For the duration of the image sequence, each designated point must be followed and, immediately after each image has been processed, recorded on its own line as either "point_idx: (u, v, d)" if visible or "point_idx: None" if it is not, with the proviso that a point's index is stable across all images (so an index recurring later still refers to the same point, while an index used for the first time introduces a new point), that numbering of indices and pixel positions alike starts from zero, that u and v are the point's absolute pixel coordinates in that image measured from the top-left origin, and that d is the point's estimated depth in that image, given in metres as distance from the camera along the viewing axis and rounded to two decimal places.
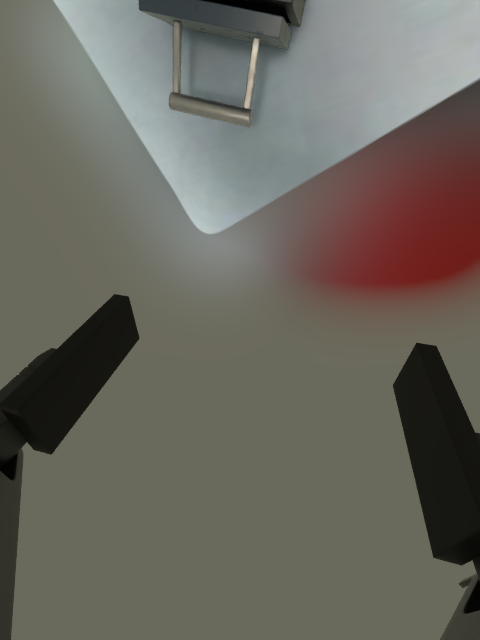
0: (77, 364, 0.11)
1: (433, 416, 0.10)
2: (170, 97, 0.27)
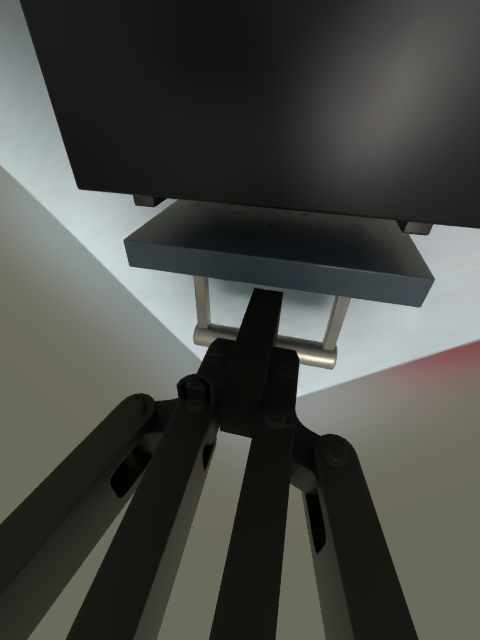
0: None
1: None
2: (195, 336, 0.17)
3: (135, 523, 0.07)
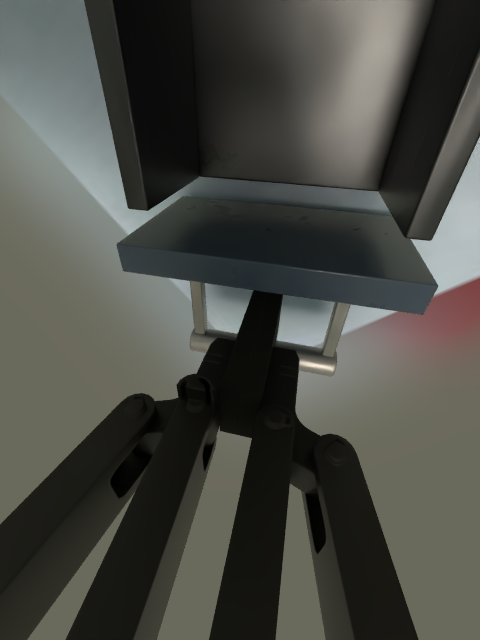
0: None
1: None
2: (192, 342, 0.16)
3: (135, 523, 0.07)
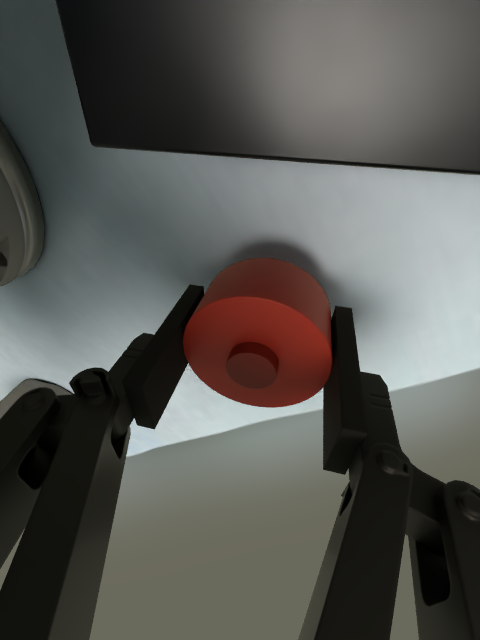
0: (173, 347, 0.12)
1: (334, 360, 0.12)
2: None
3: (42, 520, 0.07)
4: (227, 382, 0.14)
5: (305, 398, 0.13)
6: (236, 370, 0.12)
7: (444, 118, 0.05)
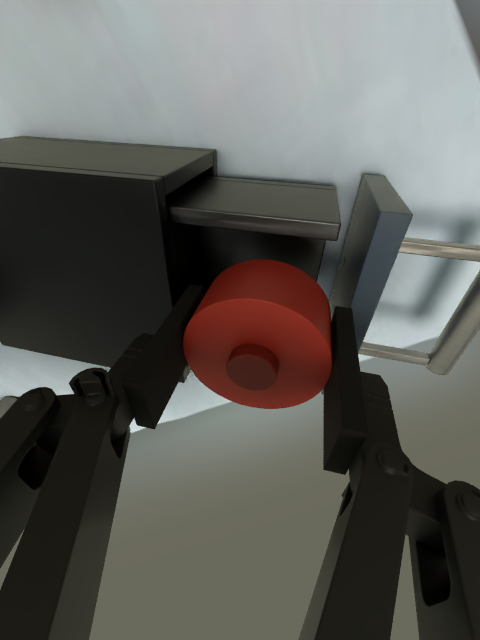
0: (173, 347, 0.12)
1: (335, 360, 0.12)
2: (435, 371, 0.17)
3: (42, 520, 0.07)
4: (227, 384, 0.14)
5: (305, 400, 0.13)
6: (236, 372, 0.12)
7: (85, 355, 0.20)
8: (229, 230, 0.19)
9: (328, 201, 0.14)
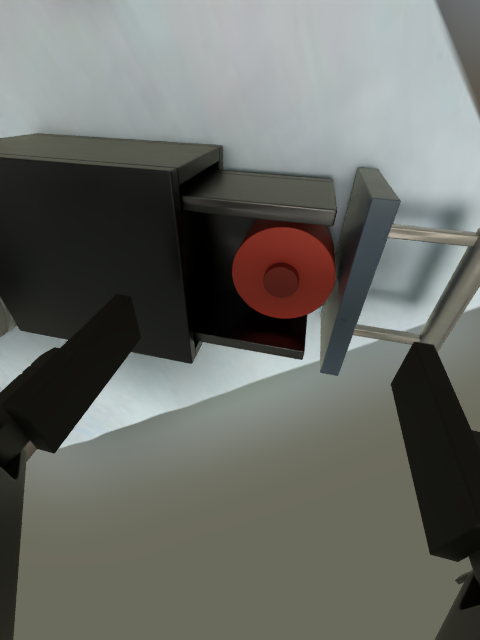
0: (80, 363, 0.11)
1: (430, 414, 0.10)
2: None
3: None
4: (261, 298, 0.20)
5: (316, 307, 0.19)
6: (270, 282, 0.18)
7: None
8: (234, 221, 0.20)
9: (326, 191, 0.16)
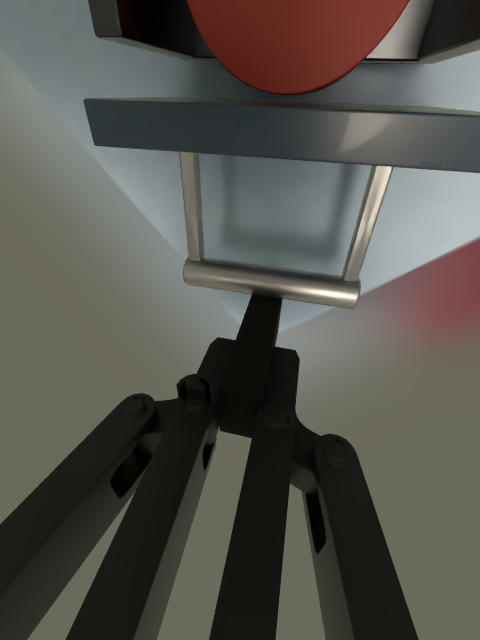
0: None
1: None
2: (185, 271, 0.14)
3: (135, 523, 0.07)
4: None
5: (224, 61, 0.09)
6: None
7: None
8: None
9: None
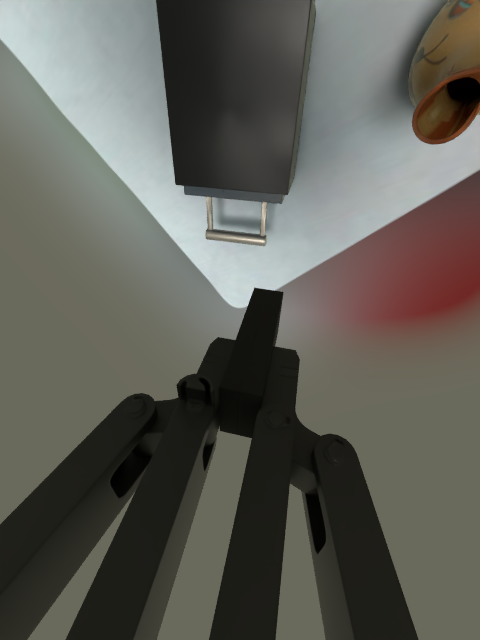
0: None
1: None
2: (206, 233, 0.38)
3: (135, 523, 0.07)
4: None
5: None
6: None
7: (175, 105, 0.28)
8: None
9: None
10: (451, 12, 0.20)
